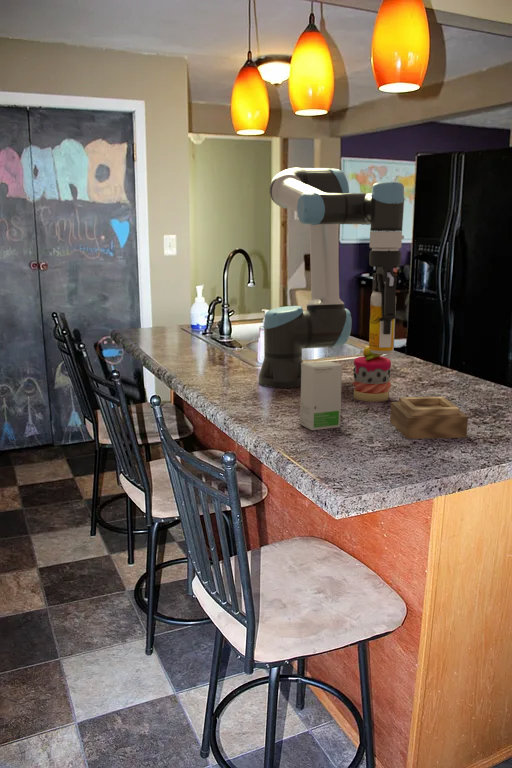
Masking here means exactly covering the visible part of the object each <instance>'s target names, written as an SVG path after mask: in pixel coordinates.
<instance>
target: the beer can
mask: <svg viewBox="0 0 512 768" xmlns="http://www.w3.org/2000/svg"><path fill="white" fill-rule="evenodd" d="M381 300H382V296H381V293H379V292H376V291H373V293H371V296H370V305H369V306H370V308H369V309H370V311H369V312H370V313H369V333H368V335H369V336H368V337H369V338H368V339H369V341H368V347H369V349H370V351H371V352H372V353H375V354H383V355H389V354H391V353H393V351H394V350H395V349H394V348H395V331H396V330H395V328H396V318H395V319H393V321H392V334H391V347H382V348H380V347H379V339H380V321H379V318H382V312H381ZM396 308H397V305H396V306H395V313H396Z"/></svg>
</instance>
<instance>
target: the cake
mask: <svg viewBox="0 0 512 768" xmlns="http://www.w3.org/2000/svg"><path fill="white" fill-rule="evenodd" d="M362 353H363V356H359V357H355V359H354V360H353V366H354V367H353V369H352V371H353V379H354V380H353V381H352V383H351V384H352V385H353V386H354V388H353V398H354V399H355V400H357V401H361V402H362V401H363V402H372V403H373V402H375V403H377V402H385V401H388V400H389V397H390V396H389V395H390V389H391V388H392V384H391V381H390V378H391V367H392V361H391V359H390V358H389V359H388V358H387V357H385V356H383V355H384V354H375V353H372V352H371V351H370V349H369V346H367V347H365V348H363V351H362Z"/></svg>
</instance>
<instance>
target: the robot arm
mask: <svg viewBox="0 0 512 768" xmlns="http://www.w3.org/2000/svg"><path fill="white" fill-rule="evenodd" d="M404 186H405V185H404V184H403V183H402V182H397V181H396V182H395V181H394V182H393V181H390V182H389V181H388V182H387V181H383V182H375V183H374V184H373V185H372V187H371V192H358V193H357V192H352V193H351V192H350V186H349V181H348V179H347V176H346V175H345V173H344V172H343V171H342V170H340V169H338V168H329V167H314V168H313V167H291V168H287V169H284V170H282V171H280V172H279V173H277V174H276V175H274V177H273V178H272V180H271V182H270V184H269V191H268V193H269V196H270V198H271V200H272V202H273V203H274V204H275V205H277V206H279V208H280V207H281V208H283V209H291V210H293V211H294V212H296V213H297V218H298V221H299V222H300V223H301V224H303V225H309V257H310V259H309V260H310V261H309V262H310V263H309V264H310V290H311V293H310V297H311V299H310V300H309V302H307V304H306V310H304V309H303V307H302V306H300V305H290V306H289V305H288V306H279V307H276V308H275V307H274V308H271V309H269V310H267V311H266V313H265V314H264V320H263V329H264V330H263V339H264V341H263V343H264V344H263V345H264V346H263V347H264V350H263V351H264V352H263V353H264V354H263V356H264V357H263V361H262V364H261V367H260V370H259V372H258V373H259V374H258V384H260V385H261V386H264V387H269V388H278V389H279V388H281V389H284V388H285V389H286V388H287V389H289V388H299V387H301V363H302V362H304V361H303V349H319V348H320V349H323V348H329V349H331V348H338V347H342V346H344V345H345V344H346V343H347V342H348V340H349V338H350V335H351V331H352V325H353V323H352V321H353V320H352V316H351V315H352V314H351V312H350V310H349V309H348V308H345V302H344V301H342V300H341V298H340V277H339V276H340V275H339V231H338V225H366V226H370V228H369V229H370V230H369V248H370V249H371V250H370V251H369V257H368V262H369V263H368V264H369V266H370V267H376V272H375V273H372V288H371V289H372V290H371V291H372V293H373V291H376V292H379V293H381V296H382V300H381V312H382V318H379V321H380V339H379V347H380V348H382V347H391V334H392V321H393V319H395V320H396V312H395V306H396V307H397V305H396V304H397V282H398V277H396V276H395V274H394V271H393V270H394V269H393V268H394V267H395V268H396V267H400V266H401V264H402V251H401V250H399V249H401V248H402V241H403V240H404V239H405V236H404V235H403V224H404V223H403V222H404V211H405V210H404V207H405V200H406V199H405V187H404ZM372 293H371V294H372Z"/></svg>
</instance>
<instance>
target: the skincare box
mask: <svg viewBox="0 0 512 768" xmlns="http://www.w3.org/2000/svg"><path fill="white" fill-rule="evenodd" d="M342 376H343V364H341V363H337V362H334V361H330V360H327V361H326V360H325V361H323V360H321V361H319V360H318V361H303V362H302V363H301V386H300V408H299V411H300V412H299V425H301V426H303V427H305V428H306V429H308V430H310V431H318V430H319V431H320V430H328V429H335V428H338V429H339V428H341V412H342V409H341V407H342V384H343V383H342V379H343V377H342Z"/></svg>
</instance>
